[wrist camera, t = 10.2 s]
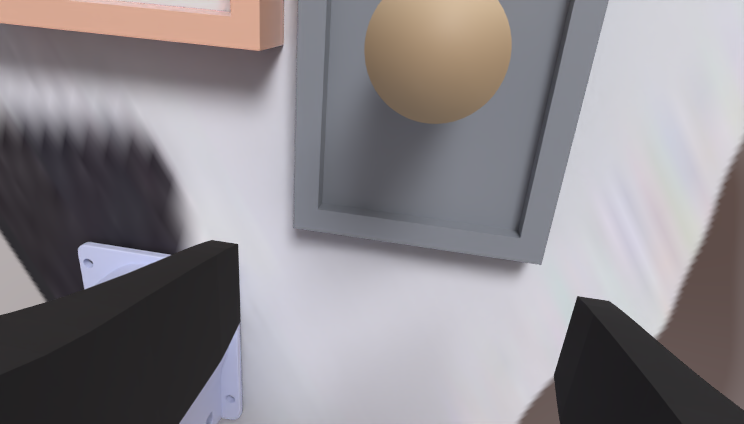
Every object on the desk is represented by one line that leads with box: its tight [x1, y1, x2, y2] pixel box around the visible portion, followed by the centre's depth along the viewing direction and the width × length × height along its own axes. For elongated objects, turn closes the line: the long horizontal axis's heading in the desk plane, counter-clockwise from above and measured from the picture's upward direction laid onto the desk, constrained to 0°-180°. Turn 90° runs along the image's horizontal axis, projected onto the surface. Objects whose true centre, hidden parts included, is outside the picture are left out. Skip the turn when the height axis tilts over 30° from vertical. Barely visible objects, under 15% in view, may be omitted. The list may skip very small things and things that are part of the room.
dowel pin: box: [364, 0, 512, 124], centre depth 14 cm, size 3×3×7 cm
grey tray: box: [293, 0, 609, 265], centre depth 17 cm, size 16×10×2 cm, turn 175°
